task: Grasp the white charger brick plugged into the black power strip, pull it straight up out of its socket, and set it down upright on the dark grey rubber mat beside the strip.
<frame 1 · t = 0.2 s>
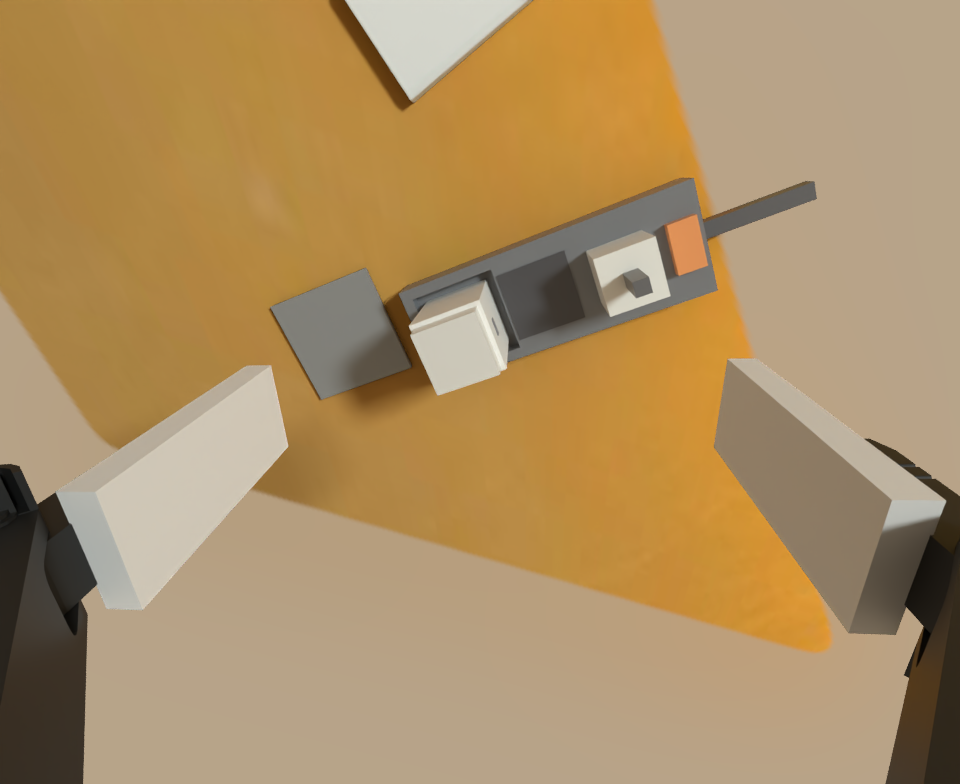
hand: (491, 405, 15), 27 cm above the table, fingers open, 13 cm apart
charger: (468, 319, 39), point 2 cm above the table, touching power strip
mat: (343, 336, 43), on the table
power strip: (551, 284, 40), on the table
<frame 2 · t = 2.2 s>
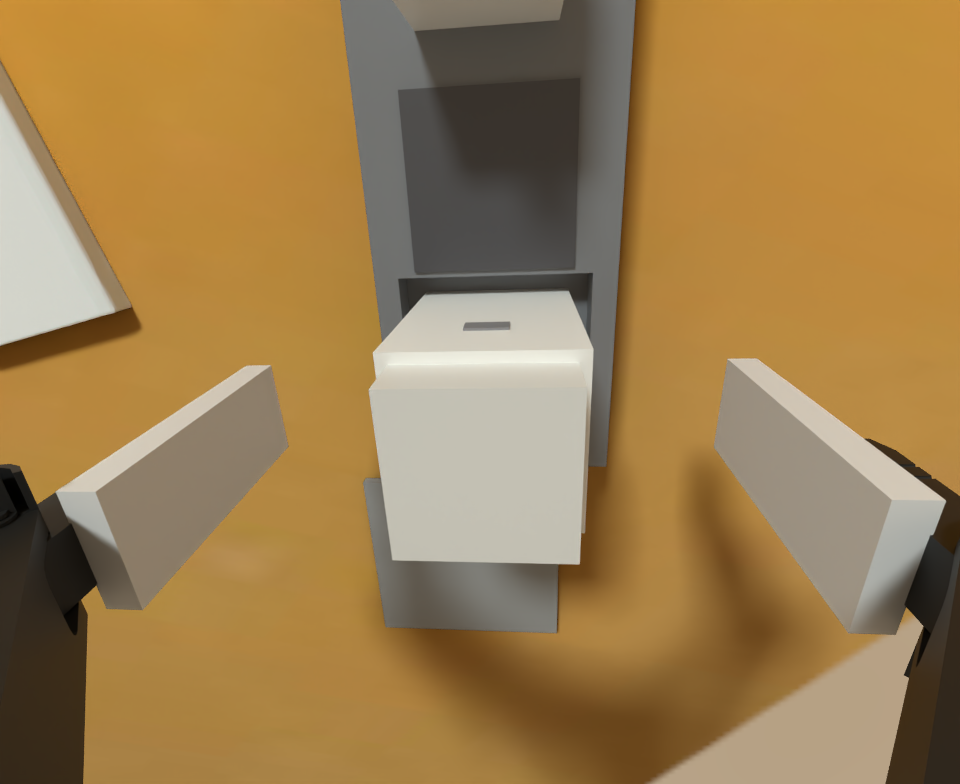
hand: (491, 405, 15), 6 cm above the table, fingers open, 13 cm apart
charger: (498, 356, 19), point 2 cm above the table, touching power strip
mat: (466, 556, 25), on the table
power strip: (494, 152, 18), on the table
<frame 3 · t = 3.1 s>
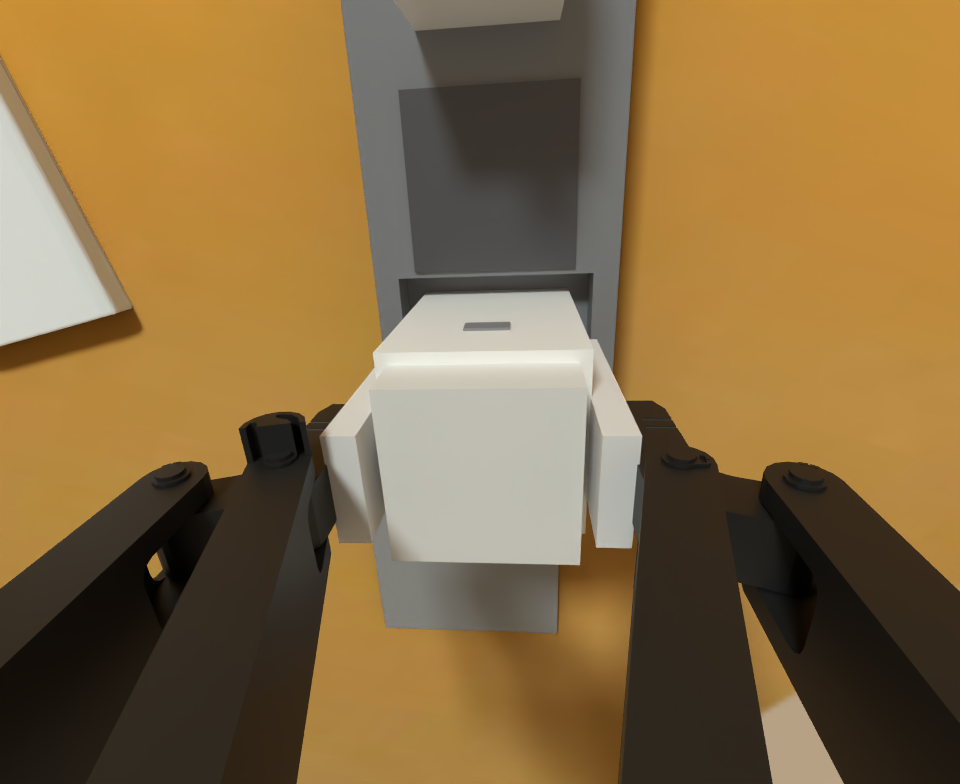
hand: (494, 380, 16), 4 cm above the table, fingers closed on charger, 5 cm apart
charger: (498, 357, 19), point 2 cm above the table, touching gripper, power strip
mat: (466, 556, 25), on the table
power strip: (495, 152, 18), on the table
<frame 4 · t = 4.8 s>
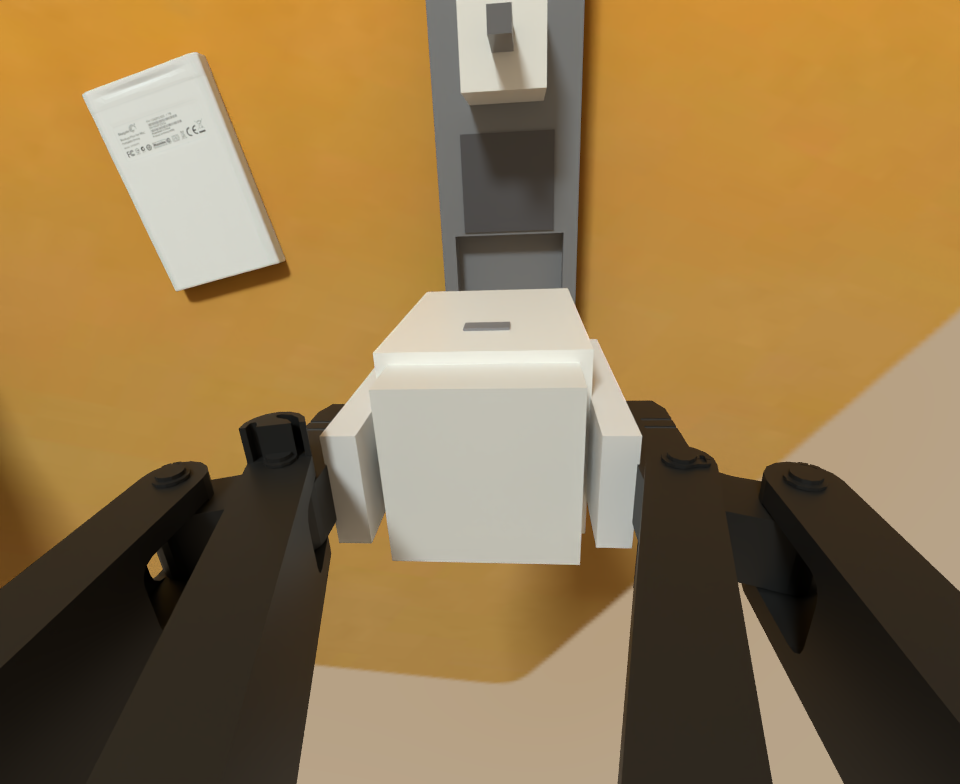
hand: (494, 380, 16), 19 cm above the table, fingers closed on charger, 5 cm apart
charger: (498, 356, 19), point 16 cm above the table, touching gripper
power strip: (509, 165, 31), on the table
external hard drive: (199, 182, 33), on the table
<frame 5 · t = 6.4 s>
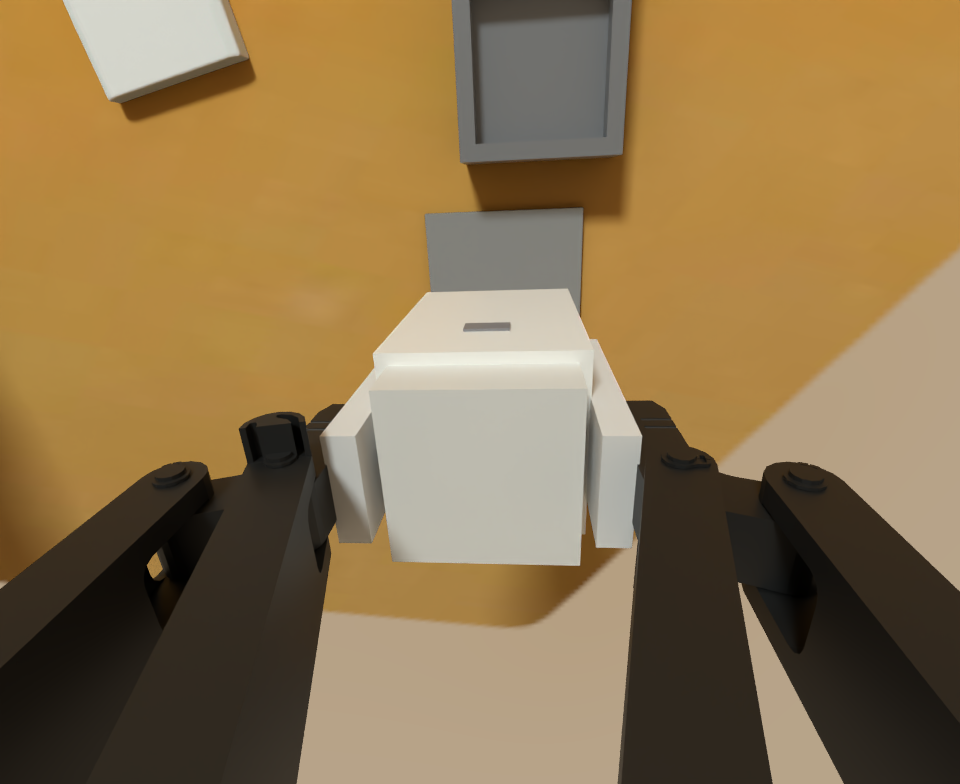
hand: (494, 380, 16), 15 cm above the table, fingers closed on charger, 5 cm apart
charger: (498, 357, 19), point 13 cm above the table, touching gripper
mat: (505, 288, 30), on the table
when the fingers open (5 cm above the table, at t = 8.8 s): charger drops 2 cm, resting on mat.
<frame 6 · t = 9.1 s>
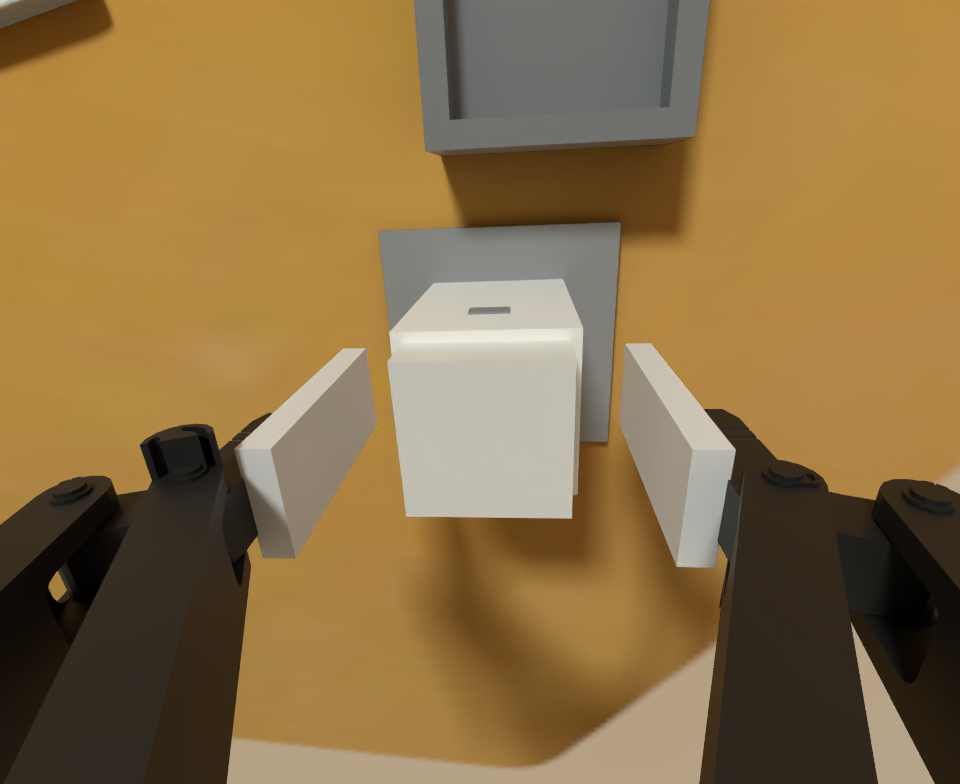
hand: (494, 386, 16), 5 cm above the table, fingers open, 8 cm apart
charger: (499, 343, 20), resting on mat
mat: (500, 340, 21), on the table
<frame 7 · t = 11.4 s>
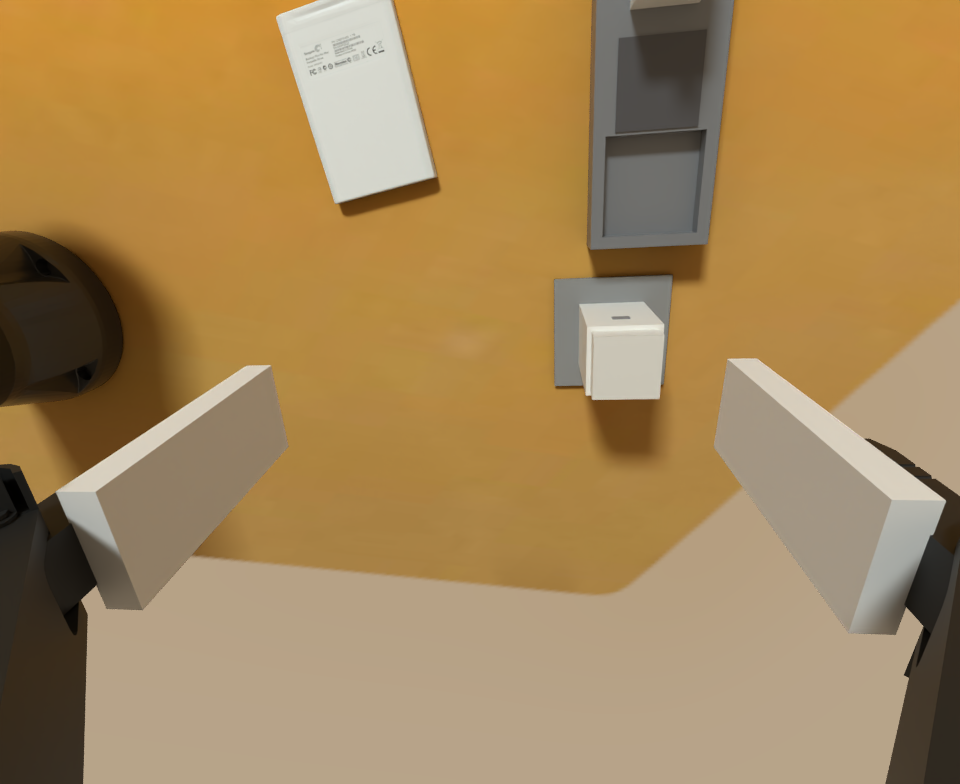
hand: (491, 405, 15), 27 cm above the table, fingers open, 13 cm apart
charger: (610, 333, 40), resting on mat
mat: (609, 332, 41), on the table
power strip: (650, 74, 34), on the table
external hard drive: (365, 103, 37), on the table
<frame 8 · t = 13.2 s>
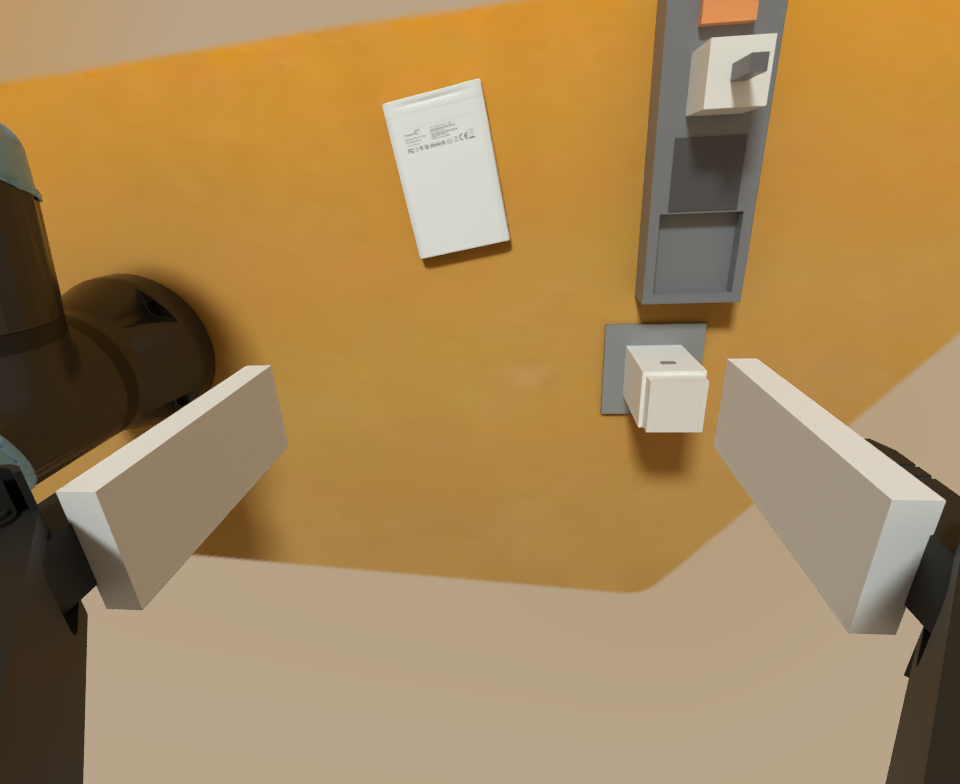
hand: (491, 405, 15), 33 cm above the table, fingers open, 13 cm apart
charger: (651, 370, 47), resting on mat
mat: (650, 369, 48), on the table
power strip: (695, 161, 41), on the table
external hard drive: (450, 175, 43), on the table
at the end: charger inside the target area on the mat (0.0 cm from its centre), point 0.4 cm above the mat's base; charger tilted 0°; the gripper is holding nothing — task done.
